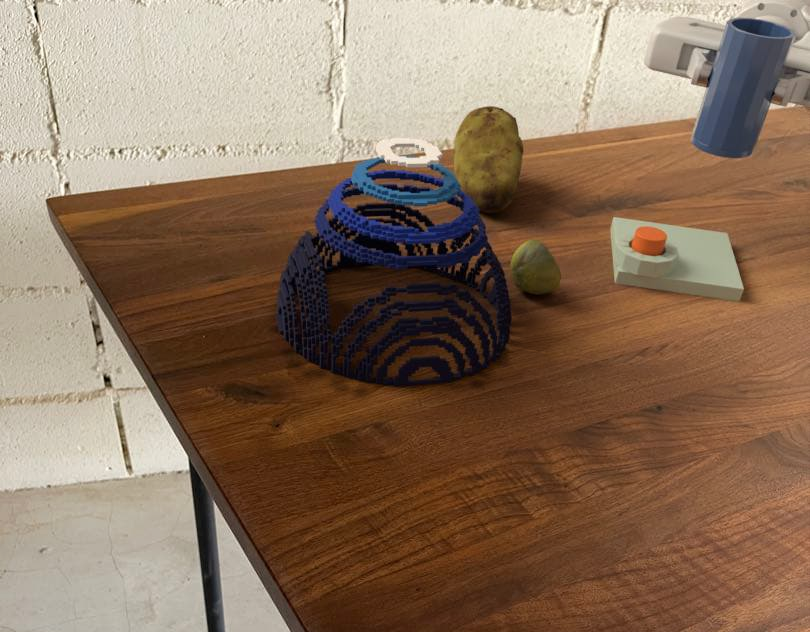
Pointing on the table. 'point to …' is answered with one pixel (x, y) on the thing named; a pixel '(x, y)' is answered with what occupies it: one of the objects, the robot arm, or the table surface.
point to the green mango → (535, 268)
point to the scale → (677, 261)
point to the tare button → (649, 241)
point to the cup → (741, 86)
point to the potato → (488, 158)
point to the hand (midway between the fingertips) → (741, 86)
